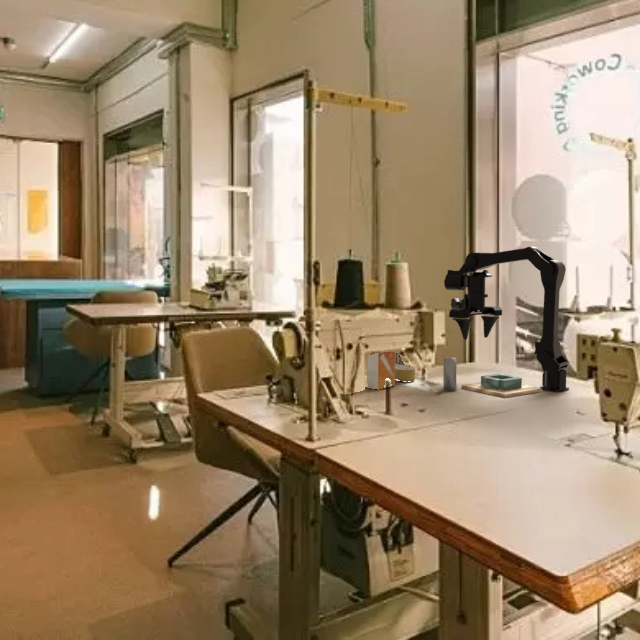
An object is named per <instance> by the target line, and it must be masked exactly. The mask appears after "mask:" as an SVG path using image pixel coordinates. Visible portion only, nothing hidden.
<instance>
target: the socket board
mask: <svg viewBox="0 0 640 640" xmlns="http://www.w3.org/2000/svg"><path fill="white" fill-rule="evenodd" d="M522 381H523V378H522V377H520V376H517V375H516V376H515V375H510V374H505V373H504V374H502V373H493V374H486V375H481V376H480V382H474V383H467V384H461V389H464V390H468V391H473V392H478V393H482V394H487V395H492V396H496V397H500V398H505V399H507V398H511V397H517V396H522V395H531V394H535V393H541V392H543V391H542V390H543V389H542V388H540V387H536V386H531V385H526V384H523V383H522Z"/></svg>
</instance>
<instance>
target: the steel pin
mask: <svg viewBox="0 0 640 640" xmlns="http://www.w3.org/2000/svg"><path fill="white" fill-rule="evenodd" d="M457 362H458V358H457V357H454V356H445V357H443V363H442V364H443V368H442V369H443V372H442V374H443V376H442V381H443V382H442V385H443V386H442V390H443V391H445V392H456V391H457V374H458V373H457V372H458V369H457V367H458V366H457V364H458V363H457Z"/></svg>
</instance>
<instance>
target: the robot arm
mask: <svg viewBox="0 0 640 640" xmlns="http://www.w3.org/2000/svg"><path fill="white" fill-rule="evenodd" d="M519 261H529V262H530V264H532V265H533V267H534V268H536V269H537V270H538V271H539V272H540V273H539V274H540V281H541V285H542V287H543V294H544V295H543V309H542V311H543V314H542V315H543V316H542V334H541V338H540V339H538V340H535V342H534V345H535V350H534V353H533V355H536V356H535V357H536V360H537V362H538V363H539V364H540V366H541V368H542V371H543V373H542V376H541V378H542V379H541V381H542V382H541V386H540V387H539V388H542V390H546V391H549V392H550V391H551V392H560V391H561V392H562V391H568V390H570V387H568V386H567V370H566V369H567V368H568V366H569V364H570V363H569V361H568V360H567V359H566V358H565V356H564V355H563V353H562V347H561V343H560V339H559V336H558V329H559V311H560V310H559V307H560V291H561V287H562V284H563V282H564V280H565V276H566V268H567V267H566V265H565V264H564V263H563V262H562V261H561V260H557V259H556V260H555V258H552V257H551V256H550V255H548V254H546V253H544V252H543V251H542V250H541V249H539V248H538V247H536V246H526V247H523V248H518V249H516V248H515V249H509V250H505V251H498V252H469V253H467V255H466V257H465V260H464V263H463V264H462V266H461V267H460V268H459V270H455V269H447V274H445V278H444V280H443V284H444V288H445V290H447V291H465V290H466V288H467V291H466V292H467V293H464V295H463V298H462V299H460V298H458V297H454V298H451V299H450V301H451V302H450V306H451V309H450V310H449V315H448V316H449V318H451V319H452V320H453V321H455V322H456V323H457V324H458V327H459V330H460V332H461V334H462V335H461V336H462V338H463V340H468V335H469V330H470V326H471V325H470V324H471V318H470V316H479V315H480V317H481V320H482V321H483V337H484V338H488V337H489V334H490V333H491V331H492V329H493V327H494V326H495V324H496V322H497V320H498V319H500V316H503V309H502V308H501V306H493V305H490V306H486V298H489V294H488V293H486V278H492V277H493V274H491V273H490V272H489V270H487V269H488V268H491V267H494V266H496V265H499V264H506V263H507V264H508V263H515V262H519ZM481 270H482V271H481ZM471 273H472V274H471Z"/></svg>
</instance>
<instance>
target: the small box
mask: <svg viewBox="0 0 640 640" xmlns="http://www.w3.org/2000/svg"><path fill="white" fill-rule="evenodd" d="M386 378H389V379H390V380H391V384H392V386H394V387H395V381H396V380H395V352H383V353H375V354H372V355H370V356H369V358H368V370H367V383H368V387H369V388H371V390H375V389H377V391H379V390H384V389H383V388H384V385H385V379H386ZM369 388H368V389H369Z"/></svg>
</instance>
